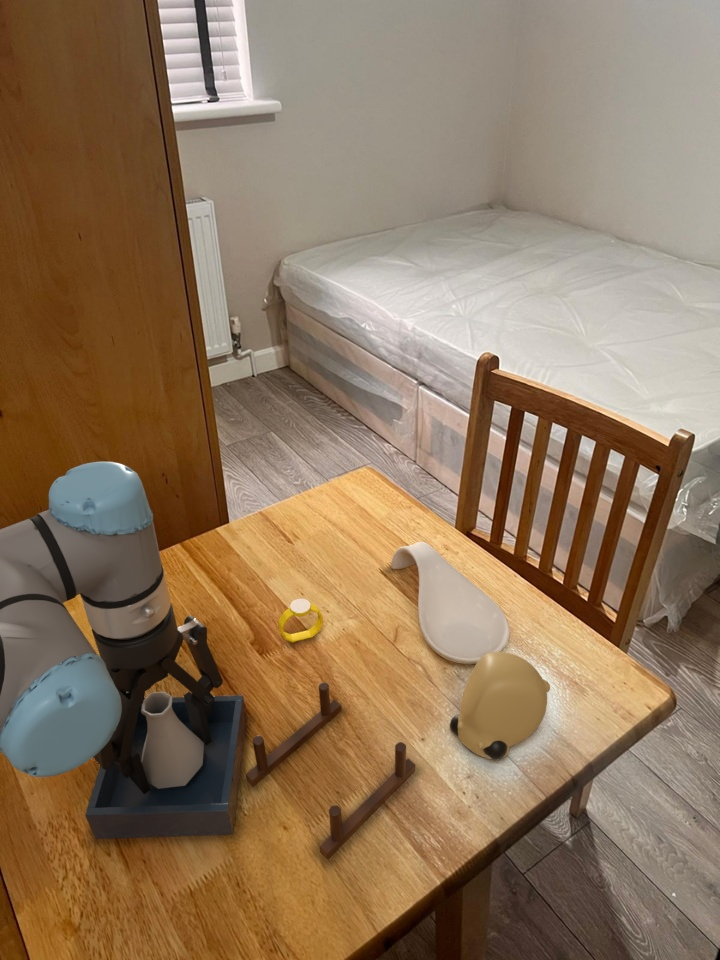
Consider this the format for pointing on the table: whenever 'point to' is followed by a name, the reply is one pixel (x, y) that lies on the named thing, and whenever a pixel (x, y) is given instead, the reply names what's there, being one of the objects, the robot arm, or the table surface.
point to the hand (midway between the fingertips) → (172, 759)
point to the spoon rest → (453, 608)
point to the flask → (168, 745)
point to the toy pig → (500, 705)
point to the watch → (300, 609)
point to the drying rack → (338, 829)
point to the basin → (180, 808)
